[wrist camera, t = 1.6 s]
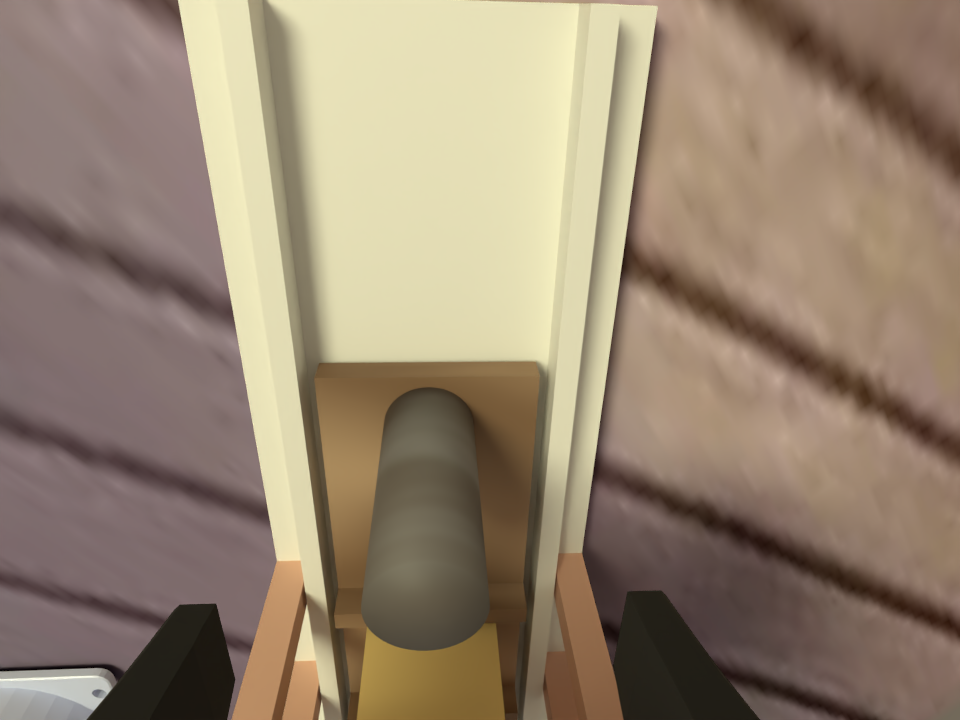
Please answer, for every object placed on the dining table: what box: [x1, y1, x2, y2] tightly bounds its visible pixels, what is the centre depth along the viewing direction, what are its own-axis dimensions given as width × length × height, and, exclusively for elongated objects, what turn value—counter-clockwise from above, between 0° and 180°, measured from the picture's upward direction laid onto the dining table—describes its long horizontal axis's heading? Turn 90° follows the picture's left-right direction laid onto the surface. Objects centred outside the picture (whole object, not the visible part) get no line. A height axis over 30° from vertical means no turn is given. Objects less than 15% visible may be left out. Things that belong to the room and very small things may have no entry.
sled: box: [314, 361, 540, 720], centre depth 18 cm, size 16×6×7 cm, turn 179°
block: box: [357, 623, 505, 720], centre depth 20 cm, size 4×4×4 cm
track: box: [178, 0, 658, 720], centre depth 18 cm, size 32×10×8 cm, turn 179°
